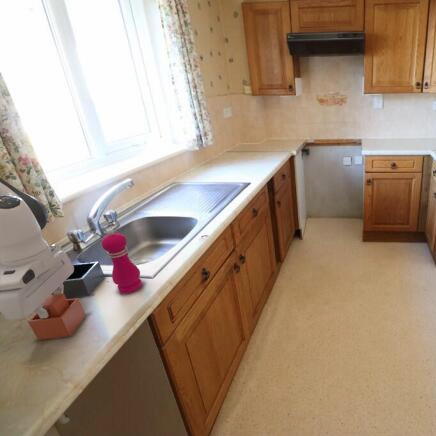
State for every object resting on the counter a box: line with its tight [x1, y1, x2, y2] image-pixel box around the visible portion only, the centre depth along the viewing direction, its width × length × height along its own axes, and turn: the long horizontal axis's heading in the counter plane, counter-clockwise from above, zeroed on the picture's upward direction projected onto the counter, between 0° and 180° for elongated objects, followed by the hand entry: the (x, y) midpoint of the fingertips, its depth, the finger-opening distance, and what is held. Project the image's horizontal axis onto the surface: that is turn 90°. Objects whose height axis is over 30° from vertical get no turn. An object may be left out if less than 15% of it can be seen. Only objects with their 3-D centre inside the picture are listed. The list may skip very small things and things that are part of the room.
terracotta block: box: [40, 294, 70, 319], centre depth 82 cm, size 4×4×4 cm
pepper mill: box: [101, 228, 143, 294], centre depth 95 cm, size 7×7×20 cm
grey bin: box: [51, 261, 106, 299], centre depth 99 cm, size 10×10×6 cm
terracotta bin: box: [27, 297, 87, 341], centre depth 83 cm, size 8×8×6 cm
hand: (53, 308), depth 82 cm, fingers closed on terracotta block, 4 cm apart
